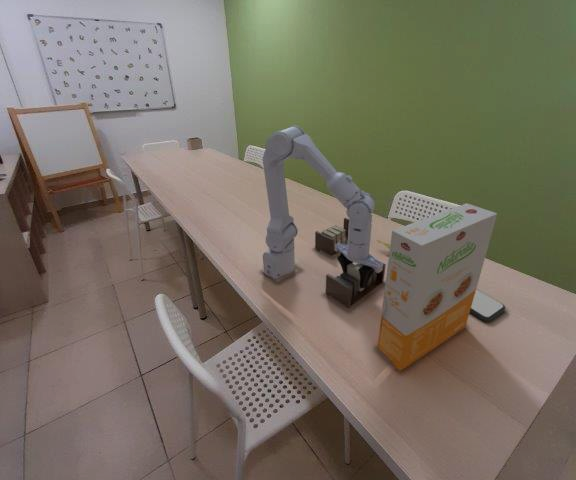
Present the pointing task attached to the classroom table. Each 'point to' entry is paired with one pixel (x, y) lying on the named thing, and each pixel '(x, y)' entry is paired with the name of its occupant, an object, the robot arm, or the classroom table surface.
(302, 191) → the classroom table surface
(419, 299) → the cereal box
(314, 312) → the classroom table surface
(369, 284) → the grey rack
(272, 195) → the robot arm
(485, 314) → the phone case
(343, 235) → the dark brown rack
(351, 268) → the white book
